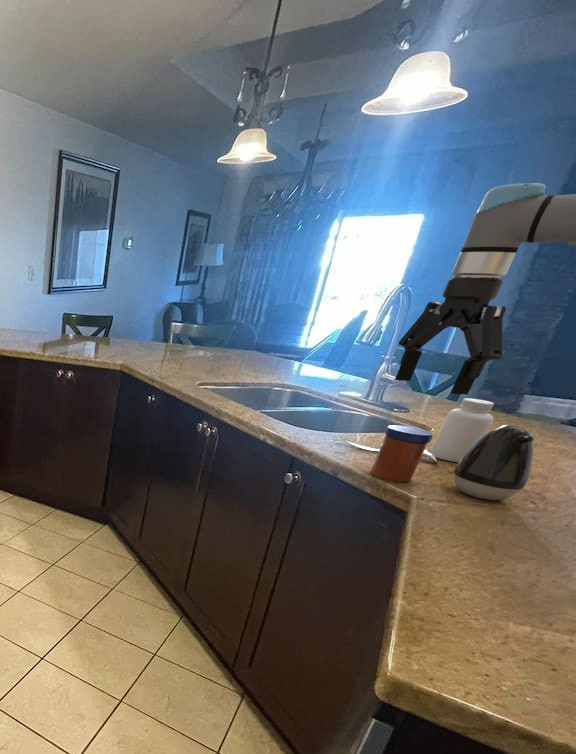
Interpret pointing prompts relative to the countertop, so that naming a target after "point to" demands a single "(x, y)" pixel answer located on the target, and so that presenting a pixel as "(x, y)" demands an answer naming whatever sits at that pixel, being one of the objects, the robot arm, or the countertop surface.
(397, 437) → the lid
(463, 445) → the pill bottle
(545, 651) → the countertop surface
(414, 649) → the countertop surface
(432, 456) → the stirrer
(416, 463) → the jar
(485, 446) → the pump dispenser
